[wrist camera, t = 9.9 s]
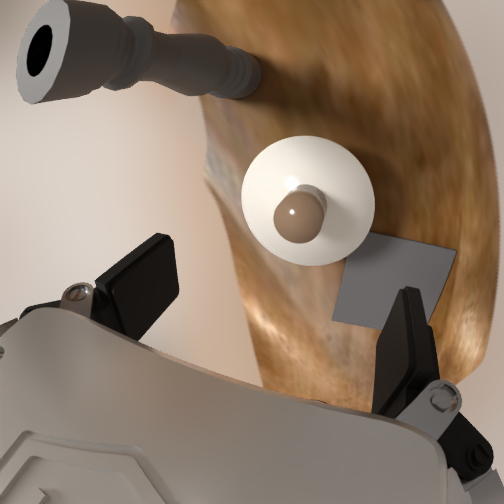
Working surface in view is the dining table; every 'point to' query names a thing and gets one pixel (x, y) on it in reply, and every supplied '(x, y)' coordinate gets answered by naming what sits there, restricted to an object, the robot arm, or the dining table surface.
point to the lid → (308, 200)
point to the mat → (389, 278)
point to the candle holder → (123, 56)
